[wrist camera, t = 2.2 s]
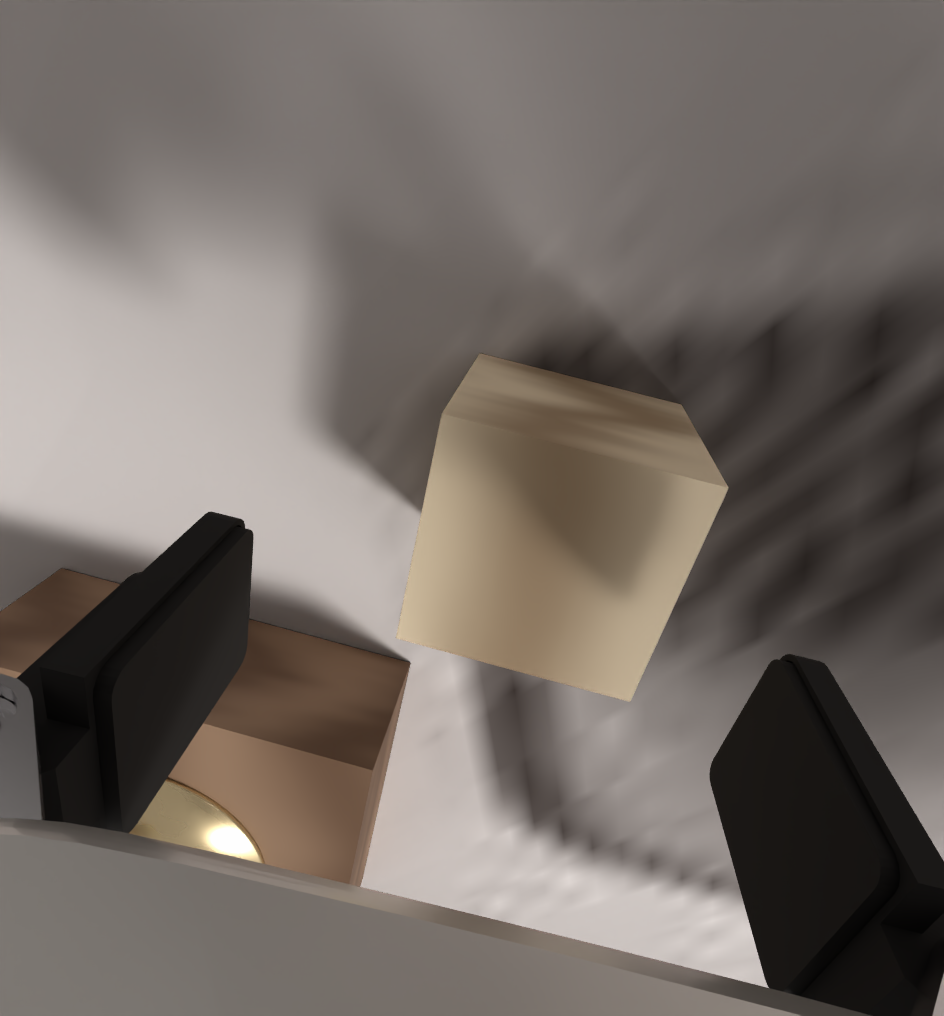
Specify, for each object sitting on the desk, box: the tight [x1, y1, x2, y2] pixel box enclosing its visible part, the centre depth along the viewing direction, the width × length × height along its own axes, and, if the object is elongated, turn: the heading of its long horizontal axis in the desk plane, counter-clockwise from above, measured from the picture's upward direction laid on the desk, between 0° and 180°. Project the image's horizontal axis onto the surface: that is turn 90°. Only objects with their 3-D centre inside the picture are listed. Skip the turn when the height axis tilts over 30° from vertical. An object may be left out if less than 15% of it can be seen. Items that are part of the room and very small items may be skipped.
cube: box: [396, 353, 729, 702], centre depth 16 cm, size 6×6×6 cm
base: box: [0, 568, 410, 887], centre depth 24 cm, size 14×14×5 cm
